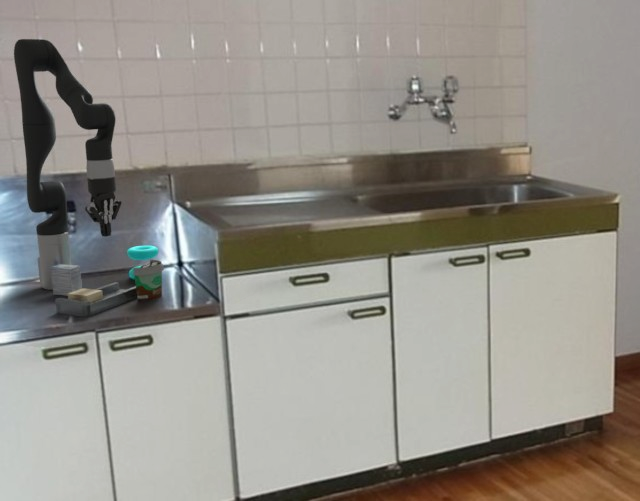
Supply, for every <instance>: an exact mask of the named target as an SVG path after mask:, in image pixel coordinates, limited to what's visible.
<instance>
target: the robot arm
mask: <svg viewBox="0 0 640 501" xmlns="http://www.w3.org/2000/svg"><path fill="white" fill-rule="evenodd" d="M13 59H14V67H15V72H16V76H17V77H16V78H17V83H18V89H19V97H20V98H19V99H20V107H21V119H22V120H21V121H22V122H21V124H22V135H23V144H24V151H25V161H26V162H25V163H26V196H27V197H26V198H27V204H28V205H27V206H28V208H29V209H30V211H31V212H32V213H35V214H36V213H37V214H38V213H49V212H52V213H51V215H50V217H49V218H47V219H46V220H44V221H41V222H40V223H38V224H36V227H35V228H36V230H35V231H36V237H37V245H38V247H37V248H38V254H39V257H37V258H36V259H37V270H38V277H39V284H40V288H42V289H44V290H49V291H50V290H52V291H53V286H52V277H51V267H53V266H56V265H60V264H62V265H73V264H72V256H71V245H70V238H69V230H68V228H69V226H68V225H69V224H68V223H69V220H68V206H67V204H68V202H67V193H66V188H65V185H64V183H63V182H62V181H60V180H50V181H49V180H48V181H41V175H42V170H43V167H44V164H45V162H46V160H47V158H48V157H49V155H50V153H51V152H52V149H53V147H54V145H55V143H56V140H57V130H56V128H57V127H56V119H55V116H54V113H53V110H52V109H51V107H50V106H49V105H48V103H47V102H46V100H45V99H44V98H43V96H42V95H41V93H40V91H39V89H38V86H37V82H36V77H35V76H36V75H35V73H38V72H40V73H41V72H43V73H44V72H48V73H50V74H52V75H53V76H54V77H55V90H56V92H57V94H58V96H59V98H60V99H61V100H62V101H63V102H64V103H65V104H66V105H67V106H68V107H69V109H70V110H71V113H72V114H73V118H74V119H75V121H76V124H77V125H78V126H79V127H80V128H82V129H83V130H87V131H92V130H93V131H94V130H97V132H96V135H95V136H94V137H91V138H89V139H87V140H86V141H85V156H86V158H85V159H86V178H87V179H86V180H87V188H88V193H89V194H90V196H91V197H90V203H89V205H88V206H85V208H84V209H85V212H86V213H87V214H88V216H89V217H90V218H91V220H92V221H93V222H94V223H98V224H99V228H100V234H101V237H110V236H111V235H112V221H114V220H116V218H117V217H118V213H119V211H120V209H121V206H122V201H121V200H117V199H116V195H115V193H116V190H117V184H116V174H115V172H116V171H115V165H114V159H113V150H112V149H113V148H112V142H113V138H114V137H113V136H114V132H115V127H116V119H117V118H116V113H115V109H113V106H112V105H110V104H109V103H106V102H105V103H104V102H103V103H102V102H100V103H93V102H94V97H93V95H92V93H91V92H90V91H89V90H88V89H87V88H86V87H85V86H84V85H83V83H81V82H80V80H78V78H77V77H76V76H75V75H74V74H73V72H72V70H71V69H70V68H69V66H68V64H67V62H66V60H65V59H64V58H63V57H62V55H61V53H60V52H59V50H58V49H57V47H56V46H55V45H54V43H52V42H51V41H50V40H48V39H40V38H39V39H37V38H20V39H18V40H17V41H16V42H15V44H14V48H13Z"/></svg>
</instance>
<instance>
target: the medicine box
mask: <svg viewBox="0 0 640 501" xmlns="http://www.w3.org/2000/svg"><path fill="white" fill-rule="evenodd" d="M51 277H52V286H53V290H52V293H53V295H56V296H57V295H58V296H67V297H68V293H71V292H74V291H77V290H80V289H83V284H82V273H81V267H80V265H76V264H75V265H73V264H72V265H62V264H60V265H56V266H53V267H51Z"/></svg>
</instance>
